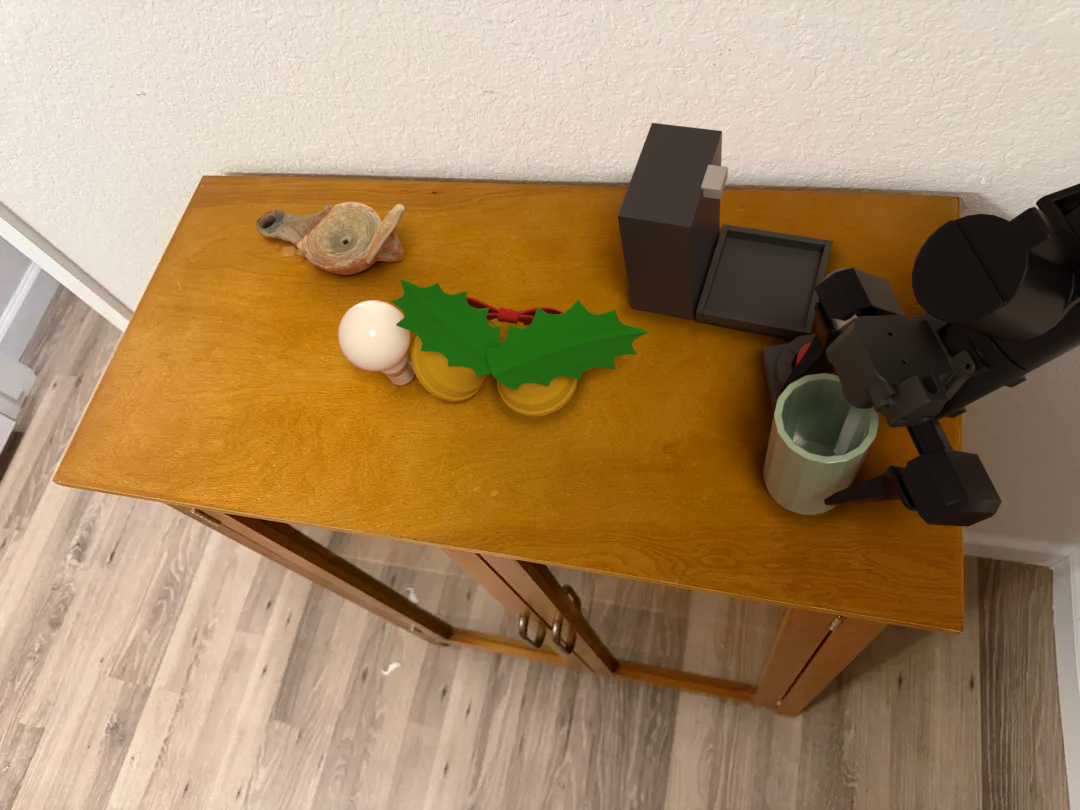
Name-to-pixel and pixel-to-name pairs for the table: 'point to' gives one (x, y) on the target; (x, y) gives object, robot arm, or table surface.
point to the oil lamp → (338, 235)
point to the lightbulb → (376, 340)
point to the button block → (781, 364)
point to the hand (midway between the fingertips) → (804, 446)
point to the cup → (815, 444)
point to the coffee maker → (710, 245)
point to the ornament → (508, 347)
